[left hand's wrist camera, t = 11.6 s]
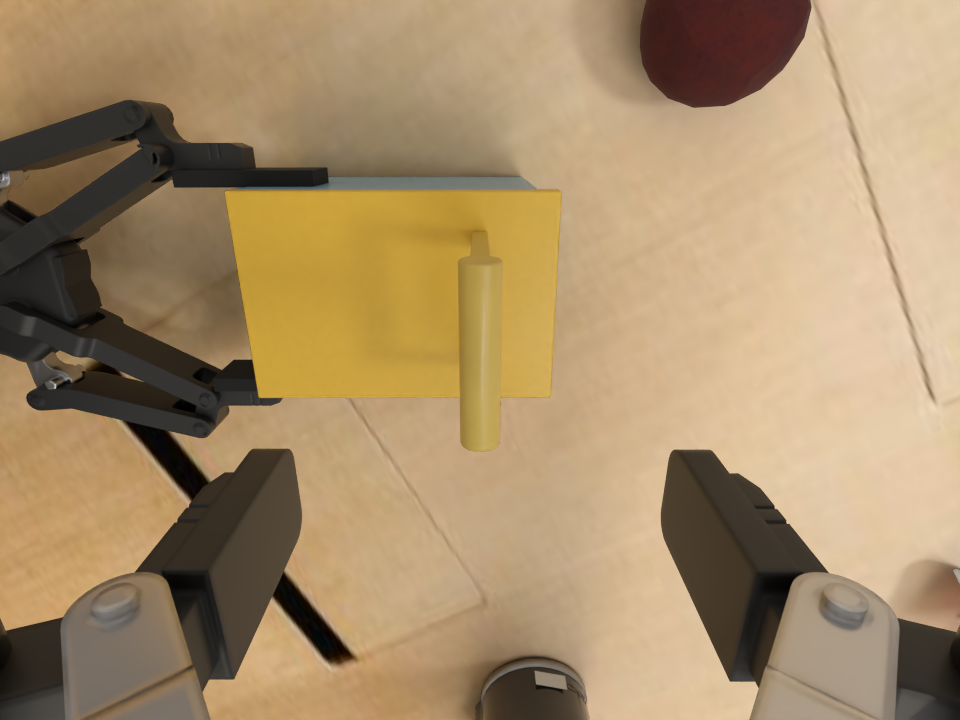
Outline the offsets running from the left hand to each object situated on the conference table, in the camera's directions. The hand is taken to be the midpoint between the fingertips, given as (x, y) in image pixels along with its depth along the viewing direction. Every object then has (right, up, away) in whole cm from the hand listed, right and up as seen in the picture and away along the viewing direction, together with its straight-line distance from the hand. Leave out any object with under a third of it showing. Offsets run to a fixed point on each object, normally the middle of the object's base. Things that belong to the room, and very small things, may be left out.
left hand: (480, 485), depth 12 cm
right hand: (-8, +7, +17) cm, 20 cm away
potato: (+12, +20, +18) cm, 30 cm away
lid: (-4, +6, +14) cm, 16 cm away
